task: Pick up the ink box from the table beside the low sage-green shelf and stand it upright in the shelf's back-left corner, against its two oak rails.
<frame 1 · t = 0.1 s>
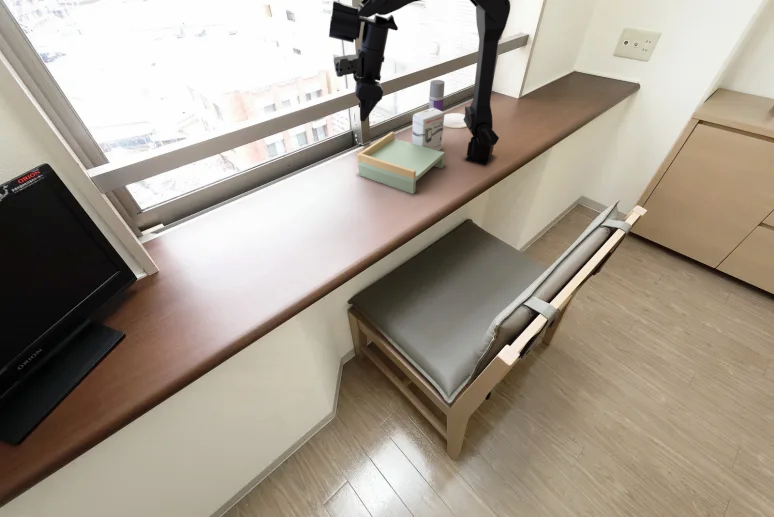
hand: (361, 114, 89), 15 cm above the table, tool pointing down, fingers open, 9 cm apart
ink box: (426, 151, 107), on the table
shelf: (401, 171, 98), on the table
container: (434, 129, 118), on the table
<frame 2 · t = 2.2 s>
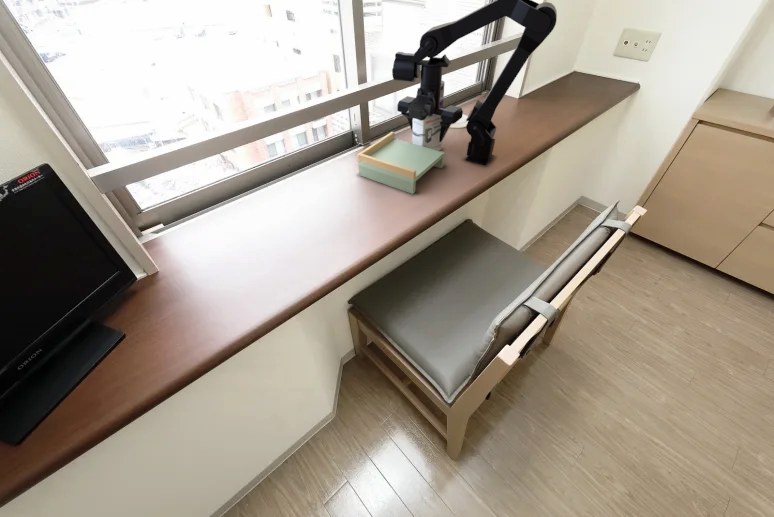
hand: (427, 138, 104), 4 cm above the table, tool pointing down
ink box: (426, 151, 107), on the table, touching gripper
everything else where it was.
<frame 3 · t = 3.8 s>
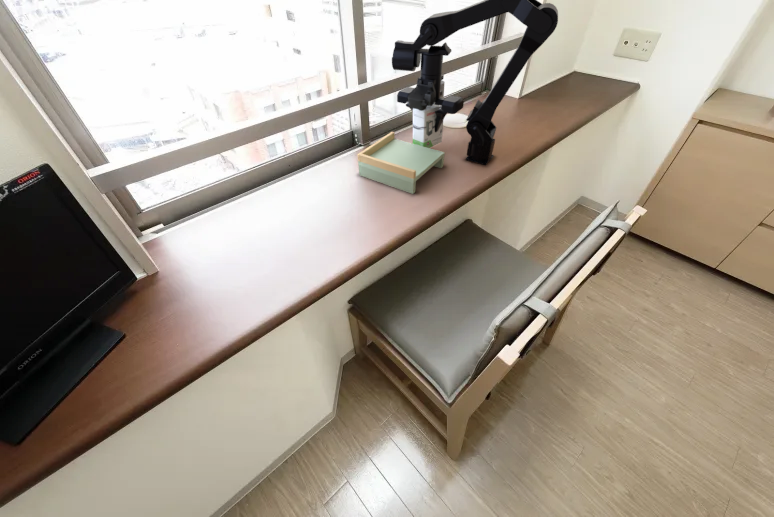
hand: (427, 129, 102), 7 cm above the table, tool pointing down, fingers closed on ink box, 5 cm apart
ink box: (427, 145, 105), point 2 cm above the table, touching gripper
everything else where it was.
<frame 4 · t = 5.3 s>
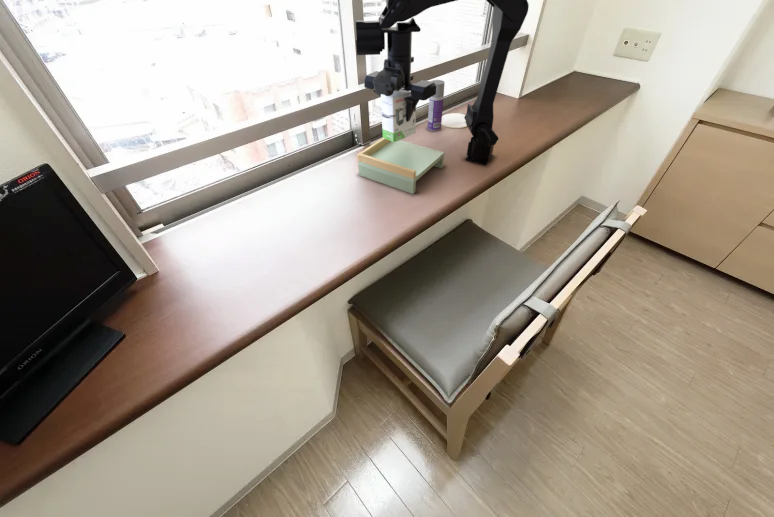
hand: (398, 118, 92), 13 cm above the table, tool pointing down, fingers closed on ink box, 5 cm apart
ink box: (399, 136, 95), point 8 cm above the table, touching gripper
everything else where it was.
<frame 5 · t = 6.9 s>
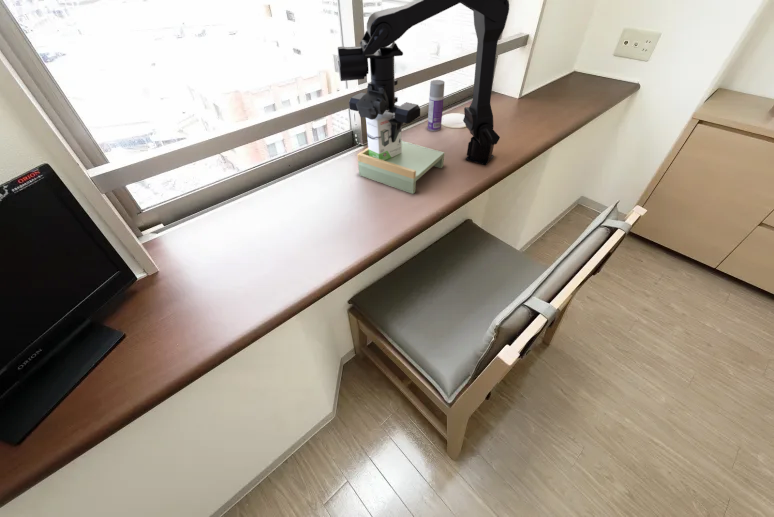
hand: (384, 139, 92), 9 cm above the table, tool pointing down, fingers closed on ink box, 5 cm apart
ink box: (385, 155, 96), point 4 cm above the table, touching gripper, shelf
everything else where it was.
when the fingers open (9 cm above the table, at t = 7.1 s): ink box stays where it is, resting on shelf.
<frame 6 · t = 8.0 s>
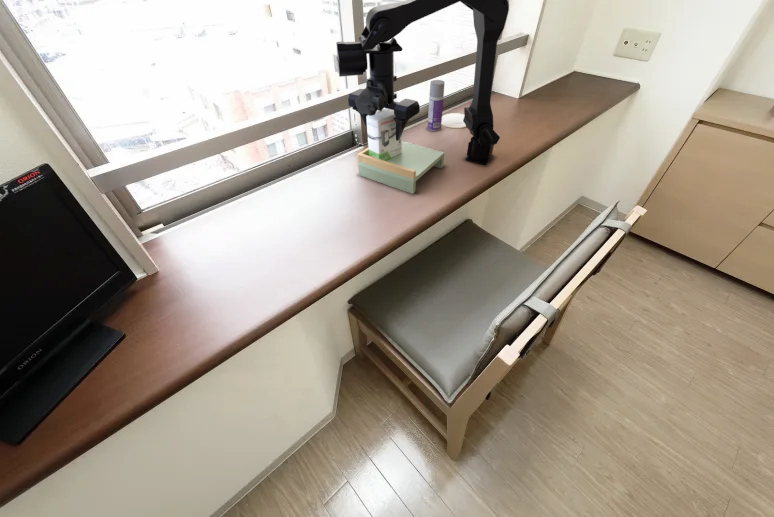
hand: (383, 136, 92), 10 cm above the table, tool pointing down, fingers open, 9 cm apart
ink box: (385, 156, 96), point 4 cm above the table, touching shelf
everything else where it was.
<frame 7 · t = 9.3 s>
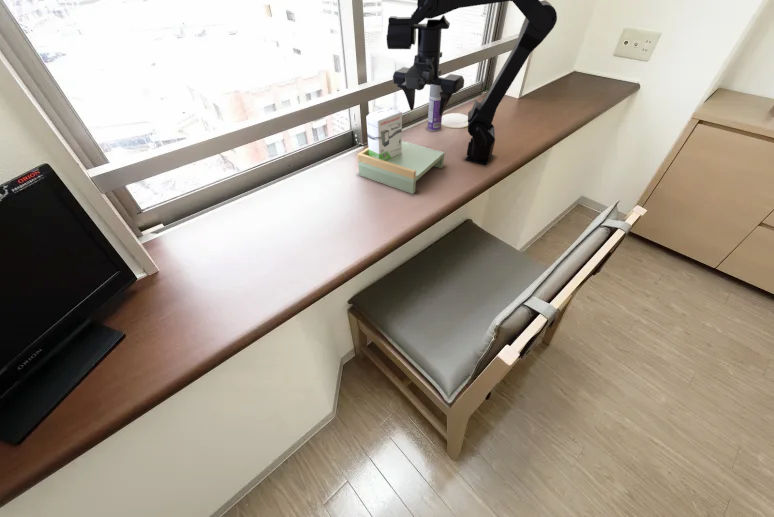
hand: (426, 112, 96), 13 cm above the table, tool pointing down, fingers open, 9 cm apart
nothing on the table moved.
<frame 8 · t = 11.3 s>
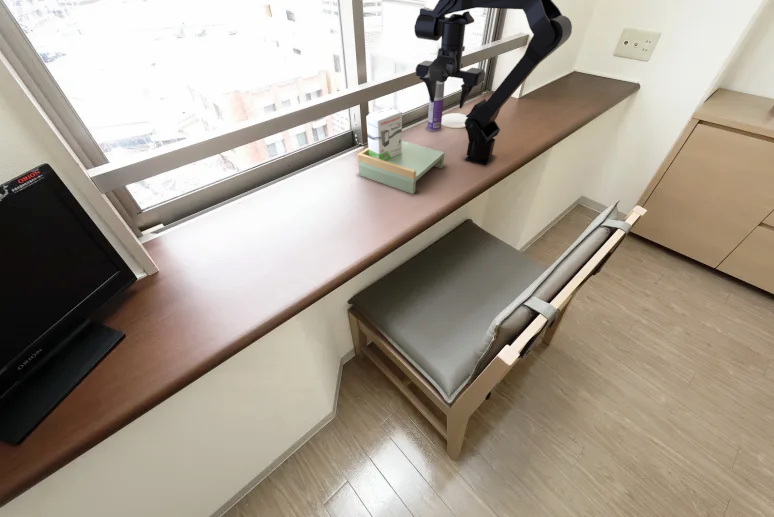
hand: (446, 104, 99), 13 cm above the table, tool pointing down, fingers open, 9 cm apart
nothing on the table moved.
at the end: ink box 0.5 cm from the target spot on the shelf, point 4.3 cm above the shelf's base; ink box tilted 0° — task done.
